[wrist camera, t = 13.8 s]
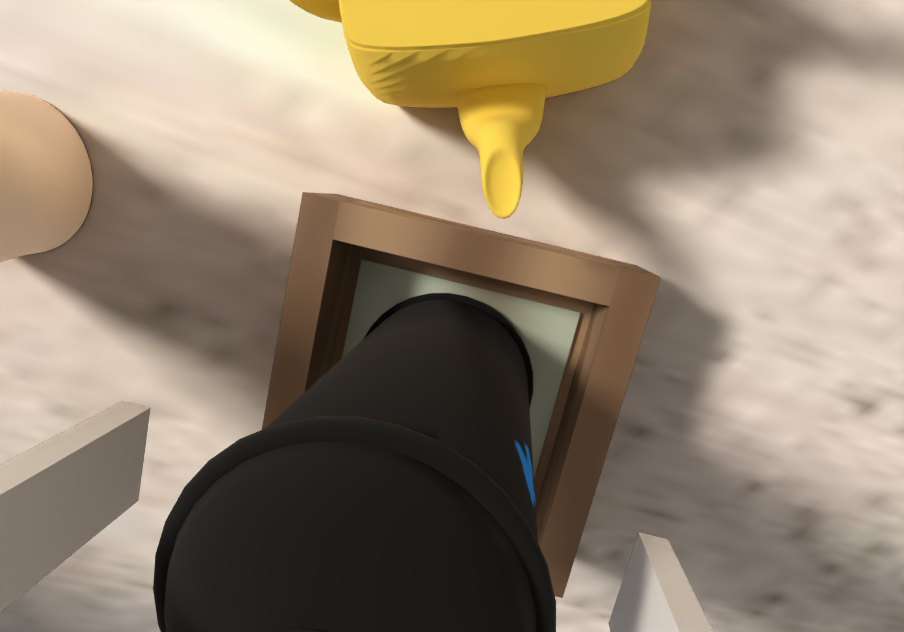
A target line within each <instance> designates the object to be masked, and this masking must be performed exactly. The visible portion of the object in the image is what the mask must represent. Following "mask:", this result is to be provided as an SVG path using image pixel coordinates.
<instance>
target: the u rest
mask: <svg viewBox="0 0 904 632" xmlns="http://www.w3.org/2000/svg"><path fill="white" fill-rule="evenodd" d="M659 281H660V277H658V276H656V275H654V274H652V273H650V272H648V271H646V270H645V269H643V268H641V267H639V266H637V265H633V264H629V263H625V262H620V261H616V260H612V259H608V258H603V257H599V256H595V255H591V254H587V253H582V252H578V251H574V250H570V249H566V248H561V247H557V246H553V245H549V244H545V243H540V242H536V241H532V240H528V239H524V238H519V237H515V236H511V235H507V234H502V233H498V232H494V231H490V230H486V229H481V228H477V227H473V226H469V225H465V224H460V223H456V222H452V221H448V220H444V219H439V218H435V217H431V216H427V215H423V214H418V213H414V212H410V211H406V210H402V209H397V208H393V207H389V206H385V205H380V204H376V203H372V202H368V201H364V200H359V199H355V198H351V197H347V196H343V195H338V194H324V193H305V192H303V194H302V200H301V205H300V211H299V217H298V223H297V229H296V235H295V240H294V246H293V252H292V258H291V264H290V269H289V275H288V281H287V287H286V293H285V298H284V304H283V310H282V316H281V322H280V327H279V333H278V339H277V345H276V351H275V357H274V362H273V368H272V374H271V380H270V386H269V391H268V397H267V403H266V409H265V415H264V420H263V426H262V430H263V429H265V428H266V427H267V426H268V425H269V424H270V423H272V422H273V421H274V420H275V419H276V418H277V417H278V416H279V415H280V414H281V413H283V412H284V411H285V410H286V409H287V408H288V407H289V406H290V405H291V404H293V403H294V402H295V401H296V400H297V399H298V398H299V397H300V396H301V395H302V394H304V393H305V392H306V391H307V390H308V389H309V388H310V387H311V386H312V385H314V384H315V383H316V382H317V381H318V380H319V379H320V378H321V377H322V376H323V375H325V374H326V373H327V372H328V371H329V370H330V369H331V368H332V367H333V366H334V365H336V364H337V363H338V362H339V361H340V360H341V359H342V358H343V357H344V356H346V355H347V354H348V353H349V352H350V351H351V350H352V349H353V348H354V347H355V346H357V345H358V344H359V343H360V342H361V341H362V340H363V338H364V337H365V335H366V334H367V332H368V330H369V329H370V327H371V326H372V325H373V324H374V322H375V321H376V320H377V319H378V318H379V317H380V316H381V315H382V314H383V313H385V312H386V311H387V310H389V309H390V308H392V307H393V306H394V305H396V304H398V303H400V302H402V301H405V300H407V299H409V298H411V297H415V296H419V295H424V294H429V293H452V294H457V295H463V296H467V297H470V298H472V299H475V300H477V301H480V302H483V303H484V304H486V305H488V306H489V307H491V308H492V309H494V310H495V311H497V312H499V313H500V314H501V315H502V316H503V317H504V318H505V319H506V320H507V321H508V322H509V323H510V324H511V325H512V326H513V327H514V329H515V330H516V332H517V333H518V334H519V336H520V337H521V339H522V340H523V342H524V345H525V347H526V349H527V352H528V354H529V356H530V361H531V365H532V370H533V395H532V400H531V405H530V409H529V410H530V425H531V441H532V457H533V472H534V488H535V504H536V519H537V535H538V544H539V546H540V549H541V551H542V553H543V555H544V557H545V560H546V562H547V564H548V568H549V573H550V577H551V582H552V586H553V591H554V595H555V596H557V597H561V598H563V594H564V591H565V588H566V585H567V581H568V578H569V575H570V572H571V568H572V565H573V562H574V558H575V555H576V552H577V549H578V545H579V542H580V539H581V536H582V532H583V529H584V526H585V523H586V519H587V516H588V513H589V509H590V506H591V503H592V500H593V496H594V493H595V490H596V487H597V483H598V480H599V477H600V474H601V470H602V467H603V464H604V460H605V457H606V454H607V451H608V447H609V444H610V441H611V438H612V434H613V431H614V428H615V425H616V421H617V418H618V415H619V411H620V408H621V405H622V402H623V398H624V395H625V392H626V389H627V385H628V382H629V379H630V376H631V372H632V369H633V366H634V362H635V359H636V356H637V353H638V349H639V346H640V343H641V340H642V336H643V333H644V330H645V327H646V323H647V320H648V317H649V313H650V310H651V307H652V304H653V300H654V297H655V294H656V291H657V287H658V284H659Z"/></svg>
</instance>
